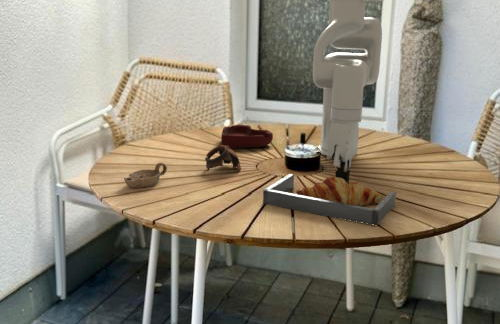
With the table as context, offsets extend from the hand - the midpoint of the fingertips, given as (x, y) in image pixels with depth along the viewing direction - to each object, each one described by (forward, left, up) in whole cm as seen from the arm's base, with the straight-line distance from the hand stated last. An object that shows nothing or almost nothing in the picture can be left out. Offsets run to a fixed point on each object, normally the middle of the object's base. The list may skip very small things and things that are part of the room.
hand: (341, 184), depth 150 cm
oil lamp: (+19, -48, -3) cm, 52 cm away
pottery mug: (-3, -37, -3) cm, 37 cm away
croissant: (+6, +2, -3) cm, 7 cm away
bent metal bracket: (+9, 0, -3) cm, 9 cm away
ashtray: (-30, -46, -3) cm, 55 cm away
